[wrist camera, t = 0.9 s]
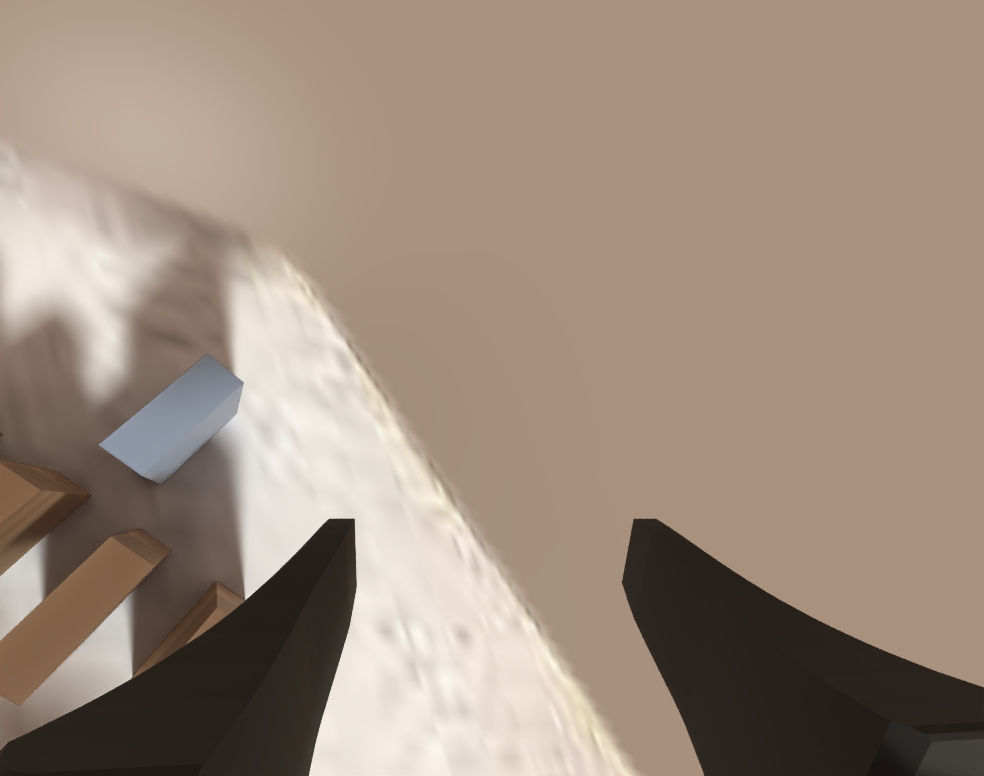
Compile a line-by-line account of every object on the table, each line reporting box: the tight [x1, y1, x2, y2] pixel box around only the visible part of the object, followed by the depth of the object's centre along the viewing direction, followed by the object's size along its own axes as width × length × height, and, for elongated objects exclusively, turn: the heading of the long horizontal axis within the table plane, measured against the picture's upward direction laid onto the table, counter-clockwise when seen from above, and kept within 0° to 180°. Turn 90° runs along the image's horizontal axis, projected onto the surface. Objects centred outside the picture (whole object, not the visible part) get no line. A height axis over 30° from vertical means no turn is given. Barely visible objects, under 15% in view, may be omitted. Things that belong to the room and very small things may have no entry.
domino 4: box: [132, 581, 245, 678], centre depth 18 cm, size 2×4×7 cm, turn 143°
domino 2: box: [0, 529, 172, 706], centre depth 17 cm, size 2×4×7 cm, turn 143°
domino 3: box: [99, 354, 244, 485], centre depth 20 cm, size 2×4×7 cm, turn 143°
